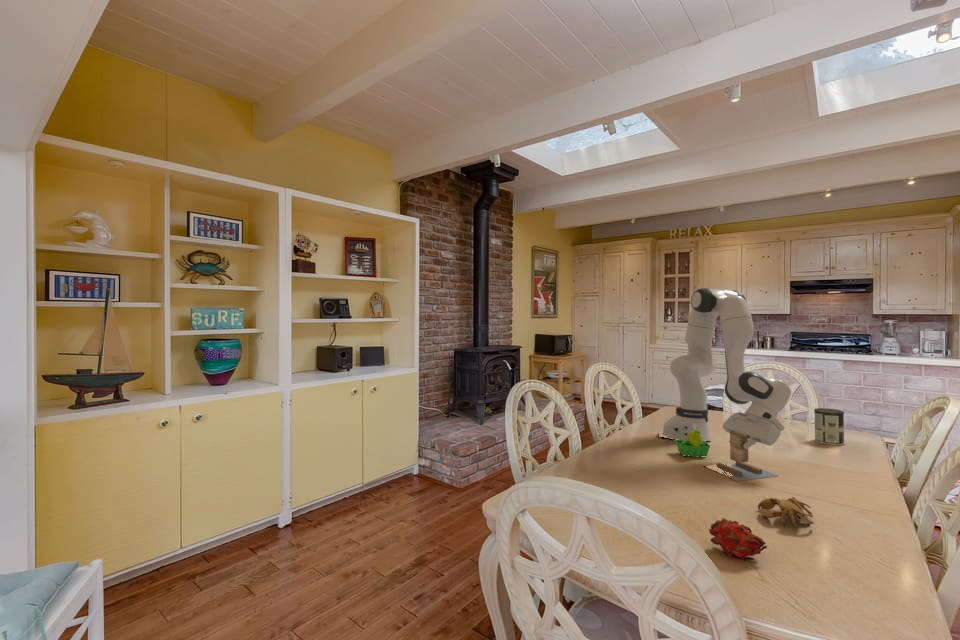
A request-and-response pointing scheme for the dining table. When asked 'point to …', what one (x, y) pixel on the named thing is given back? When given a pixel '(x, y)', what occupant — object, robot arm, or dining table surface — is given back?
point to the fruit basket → (693, 445)
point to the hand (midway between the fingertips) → (737, 445)
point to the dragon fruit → (736, 539)
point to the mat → (744, 471)
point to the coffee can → (829, 426)
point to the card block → (738, 447)
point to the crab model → (785, 509)
